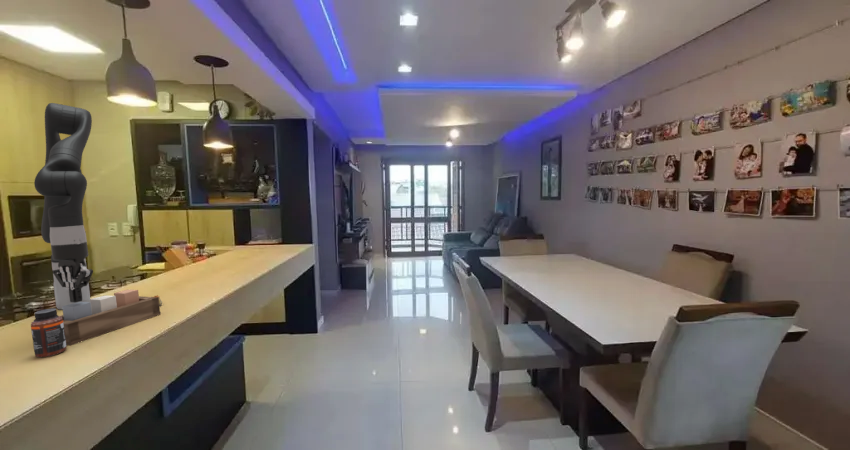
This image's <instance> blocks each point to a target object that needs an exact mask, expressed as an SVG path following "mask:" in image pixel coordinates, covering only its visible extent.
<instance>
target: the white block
mask: <svg viewBox="0 0 850 450" xmlns="http://www.w3.org/2000/svg"><path fill="white" fill-rule="evenodd" d="M90 303H91V310H92V315H94V314H97V313H100V312H104V311H107V310H111V309H114V308H117V303H116V296H114V295H101V296H98V297H97V296H96V297H93V298H90Z"/></svg>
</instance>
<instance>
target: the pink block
mask: <svg viewBox="0 0 850 450" xmlns="http://www.w3.org/2000/svg"><path fill="white" fill-rule="evenodd" d="M113 296H116V303H117V307H121V306H124V305H128V304H131V303H134V302H138V301H139V296H140V293H139V289H124V290H122V291H118V292H114V293H113Z"/></svg>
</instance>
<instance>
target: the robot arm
mask: <svg viewBox="0 0 850 450" xmlns="http://www.w3.org/2000/svg"><path fill="white" fill-rule="evenodd" d="M92 121H93V119H92V114H91V112H90V111H89V110H87V109H84V108H81V107H76V106H72V105H71V106H70V105H66V104H59V103H55V102H50V103H48V104H47V105H46V107H45V110H44V132H45V160H44V161H45V162H44V166H43V167H42V168H41V169H40V170H38V173H36V176H35V177H34V180H33V181H34V184H33V185H34V189H35V190H36V192H37V193H38V194H40V195H42V196H43V197H44V203H43V211H42V218H41V226H40V227H41V228H40V230H41V231H40V233H41V238H42V240H43V241H44V242H45V243H47V244H50V249H51V250H50V251H51V255H50V261H51V268H52V276H53V283H52V284H53V292H54V300H55V309H56V310H57V309H58V310H63V308H62V306H66V305H70V304H73V303H77V302H90V299H91V294H90V293H91V292H90V284H89V282H90V279H91V278H92V275H93V272H94V270H93V269H92V268H89V269H88V268H87V262H86V261H87V259H86V258H88V256H89V251H88V250H89V249H88V240H87V234H86V229H85V227H84V217H83V203H84V199H85V195H86V191H87V186H88V181H87V178H86V176H85V175H84V174H83V172H82V168H81V167H82V158H83V152H84V150H85V148H86V146H87V142H88V140H89V137H90V134H91V131H92V126H93V125H92V124H93V123H92ZM60 134H63V135H68V137H65V138H63V139H61V136H60Z"/></svg>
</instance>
